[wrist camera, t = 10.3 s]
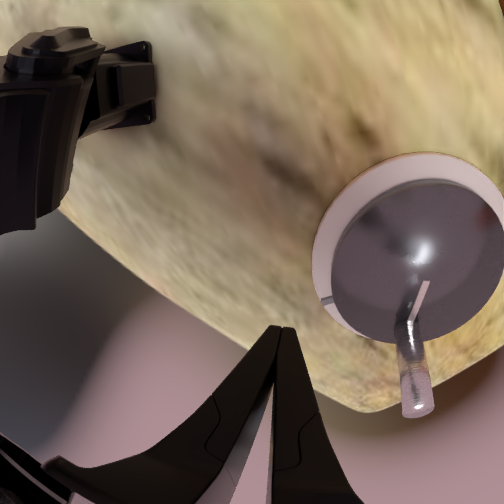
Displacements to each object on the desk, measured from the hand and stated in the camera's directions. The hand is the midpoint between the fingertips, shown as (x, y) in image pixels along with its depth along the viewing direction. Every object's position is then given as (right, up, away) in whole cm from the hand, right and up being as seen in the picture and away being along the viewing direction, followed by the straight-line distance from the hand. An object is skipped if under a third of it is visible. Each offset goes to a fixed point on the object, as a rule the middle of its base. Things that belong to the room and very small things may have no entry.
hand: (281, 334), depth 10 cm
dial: (+12, +1, +10) cm, 16 cm away
